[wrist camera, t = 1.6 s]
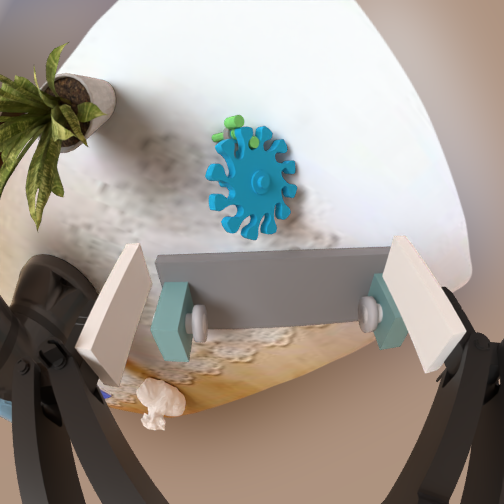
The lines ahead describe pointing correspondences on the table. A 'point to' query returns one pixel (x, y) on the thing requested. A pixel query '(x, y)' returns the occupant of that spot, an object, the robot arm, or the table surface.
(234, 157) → the gear
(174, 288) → the shaft stand
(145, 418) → the white irregular lump
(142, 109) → the table surface
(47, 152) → the house plant
